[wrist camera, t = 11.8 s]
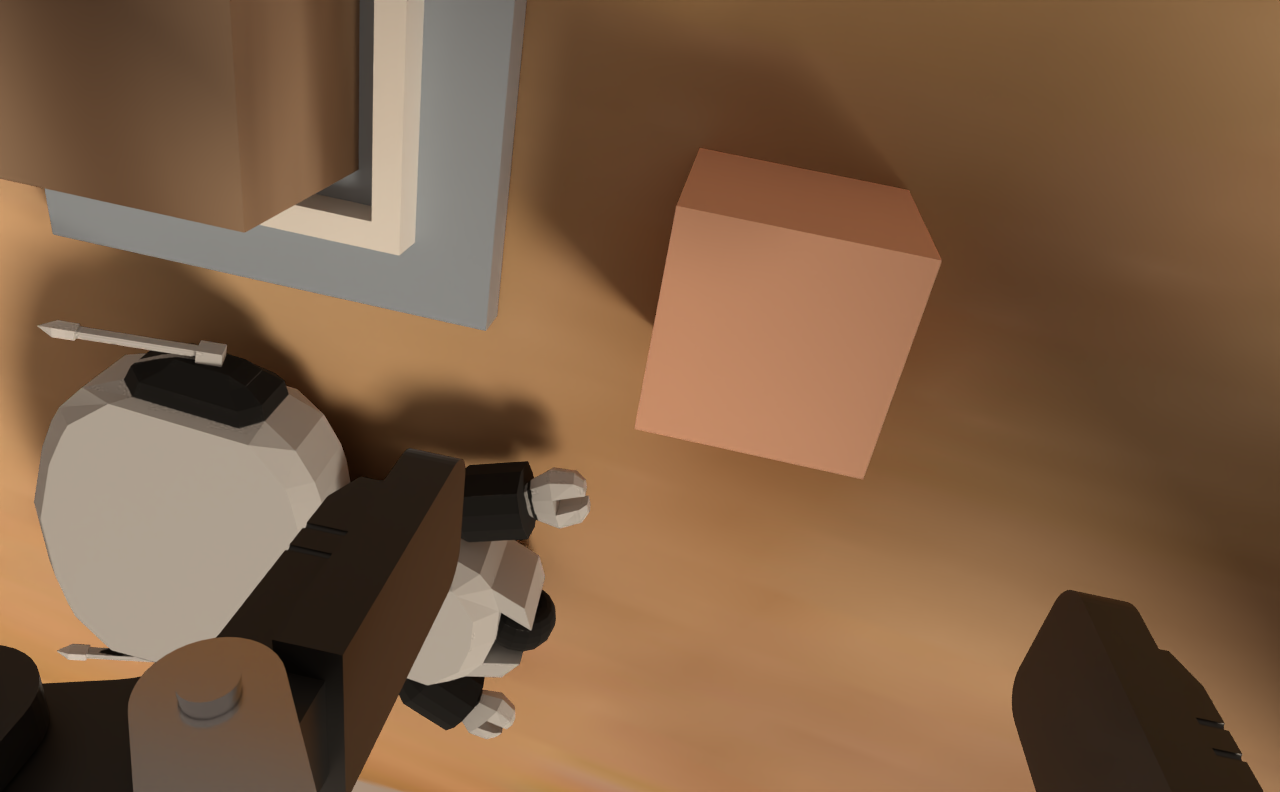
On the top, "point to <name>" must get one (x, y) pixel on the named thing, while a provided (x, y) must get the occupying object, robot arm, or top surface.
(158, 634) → the robot toy
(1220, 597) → the top surface
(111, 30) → the walnut cube
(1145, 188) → the top surface
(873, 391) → the terracotta cube
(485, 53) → the baseplate
